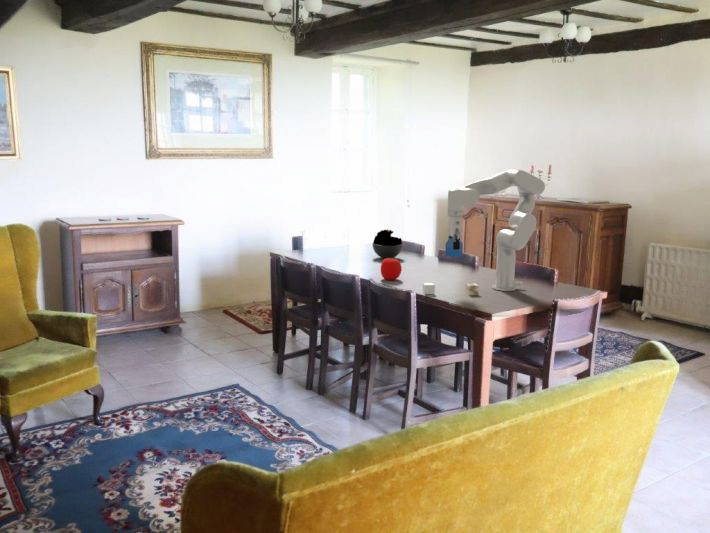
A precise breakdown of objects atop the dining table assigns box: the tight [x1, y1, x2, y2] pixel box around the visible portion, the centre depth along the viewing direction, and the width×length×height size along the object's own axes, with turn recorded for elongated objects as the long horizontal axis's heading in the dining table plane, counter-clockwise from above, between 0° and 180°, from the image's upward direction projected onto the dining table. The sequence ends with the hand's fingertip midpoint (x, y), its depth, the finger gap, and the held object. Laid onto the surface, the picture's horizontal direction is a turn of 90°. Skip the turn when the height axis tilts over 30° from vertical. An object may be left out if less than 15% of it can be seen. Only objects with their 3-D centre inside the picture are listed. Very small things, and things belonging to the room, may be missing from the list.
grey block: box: [422, 282, 436, 295], centre depth 323 cm, size 5×5×5 cm
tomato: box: [380, 257, 402, 281], centre depth 353 cm, size 12×12×13 cm
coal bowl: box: [371, 229, 404, 260], centre depth 417 cm, size 20×20×19 cm
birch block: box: [465, 283, 479, 296], centre depth 324 cm, size 5×5×5 cm
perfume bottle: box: [444, 236, 464, 258], centre depth 321 cm, size 6×6×12 cm
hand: (453, 247), depth 322 cm, fingers closed on perfume bottle, 9 cm apart
